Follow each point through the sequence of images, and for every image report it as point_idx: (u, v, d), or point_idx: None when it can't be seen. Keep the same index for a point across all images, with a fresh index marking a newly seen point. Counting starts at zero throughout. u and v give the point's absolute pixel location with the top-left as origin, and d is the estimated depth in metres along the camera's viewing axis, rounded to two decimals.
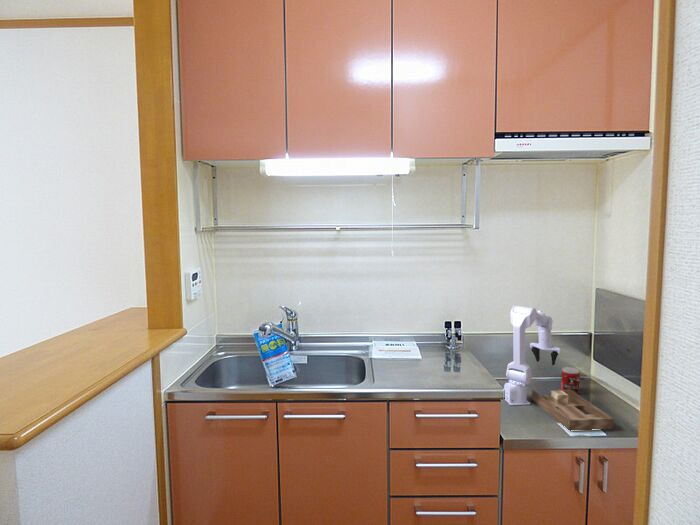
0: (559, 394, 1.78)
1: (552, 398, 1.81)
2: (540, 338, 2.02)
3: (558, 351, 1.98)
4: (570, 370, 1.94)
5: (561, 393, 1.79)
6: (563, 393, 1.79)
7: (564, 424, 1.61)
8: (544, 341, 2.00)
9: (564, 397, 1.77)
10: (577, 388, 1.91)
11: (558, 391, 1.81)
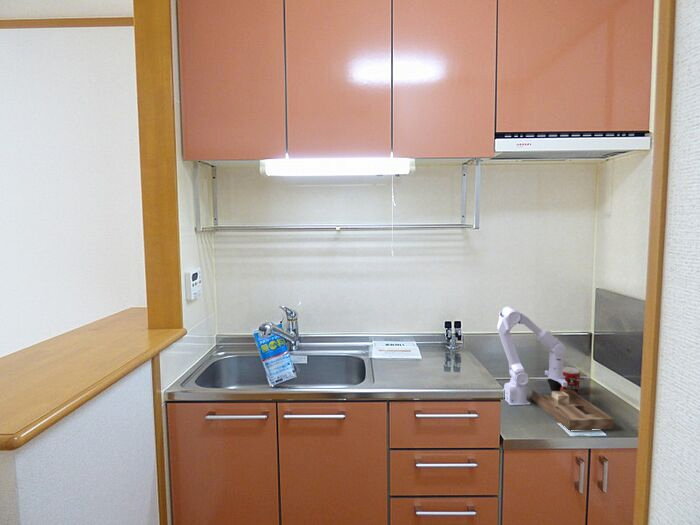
0: (560, 395, 1.77)
1: (553, 398, 1.80)
2: (549, 364, 1.83)
3: (562, 384, 1.76)
4: (570, 370, 1.94)
5: (562, 393, 1.78)
6: (564, 393, 1.78)
7: (564, 424, 1.61)
8: (551, 369, 1.81)
9: (564, 397, 1.77)
10: (577, 388, 1.91)
11: (559, 391, 1.80)
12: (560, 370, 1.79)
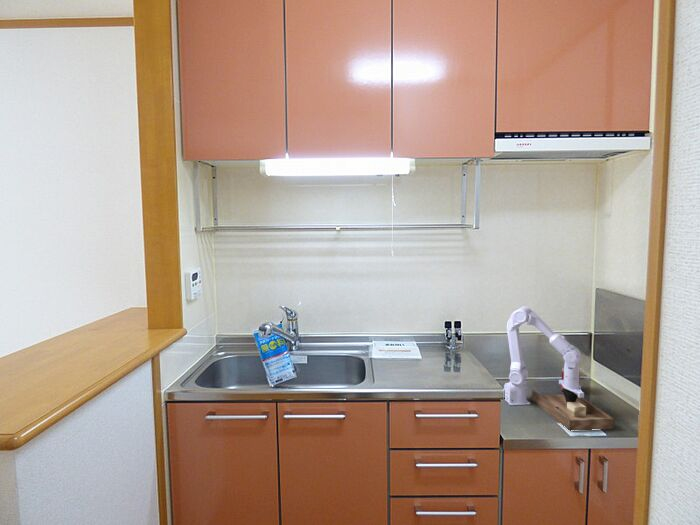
0: (576, 406, 1.66)
1: (568, 410, 1.69)
2: None
3: (578, 395, 1.64)
4: None
5: (578, 405, 1.67)
6: (580, 405, 1.67)
7: (564, 424, 1.61)
8: (566, 378, 1.70)
9: (581, 409, 1.65)
10: None
11: (575, 403, 1.69)
12: (576, 380, 1.68)
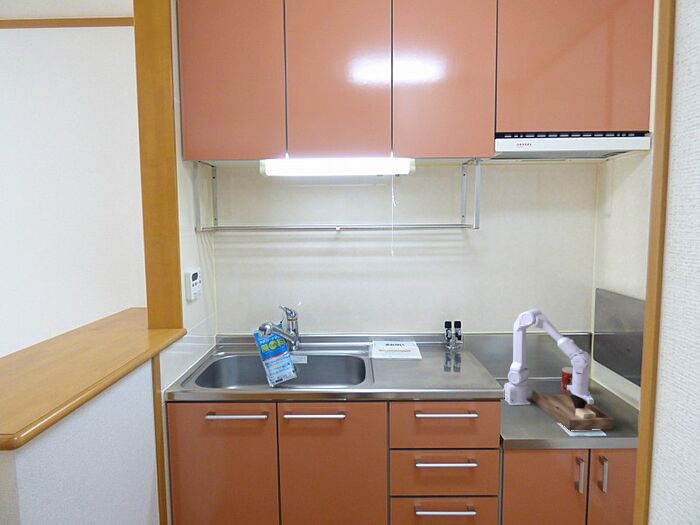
0: (585, 413, 1.60)
1: (577, 417, 1.63)
2: None
3: (588, 401, 1.58)
4: (570, 370, 1.94)
5: (587, 412, 1.61)
6: (589, 412, 1.61)
7: (564, 424, 1.61)
8: (575, 384, 1.64)
9: (591, 416, 1.59)
10: None
11: (584, 409, 1.63)
12: (585, 385, 1.62)
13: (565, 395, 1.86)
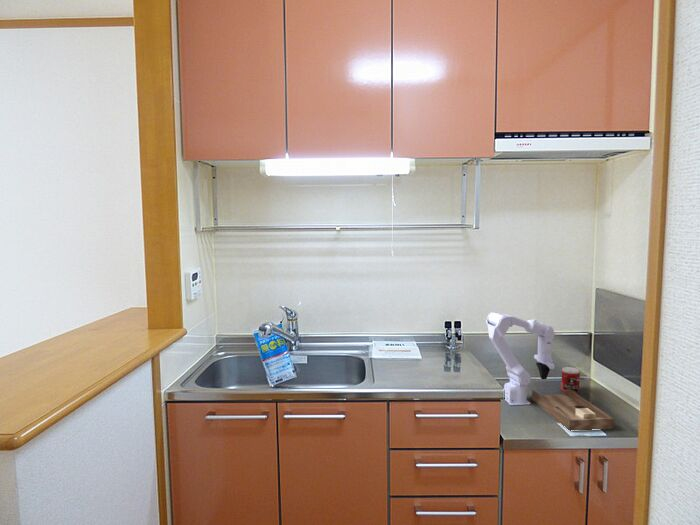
0: (585, 413, 1.60)
1: (577, 417, 1.63)
2: (538, 349, 1.86)
3: (549, 366, 1.80)
4: (570, 370, 1.94)
5: (587, 412, 1.61)
6: (589, 412, 1.61)
7: (564, 424, 1.61)
8: (539, 352, 1.85)
9: (591, 416, 1.59)
10: (577, 388, 1.91)
11: (584, 409, 1.63)
12: (548, 353, 1.83)
13: (565, 395, 1.86)
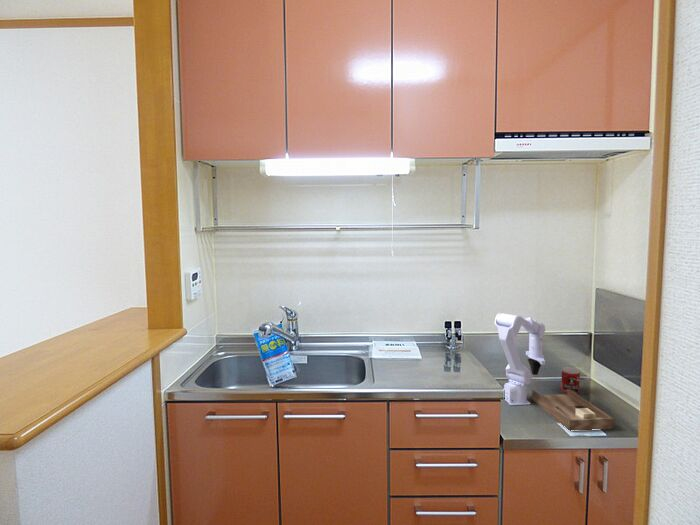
0: (585, 413, 1.60)
1: (577, 417, 1.63)
2: (530, 346, 1.91)
3: (540, 362, 1.85)
4: (570, 370, 1.94)
5: (587, 412, 1.61)
6: (589, 412, 1.61)
7: (564, 424, 1.61)
8: (531, 348, 1.91)
9: (591, 416, 1.59)
10: (577, 388, 1.91)
11: (584, 409, 1.63)
12: (539, 350, 1.89)
13: (565, 395, 1.86)
